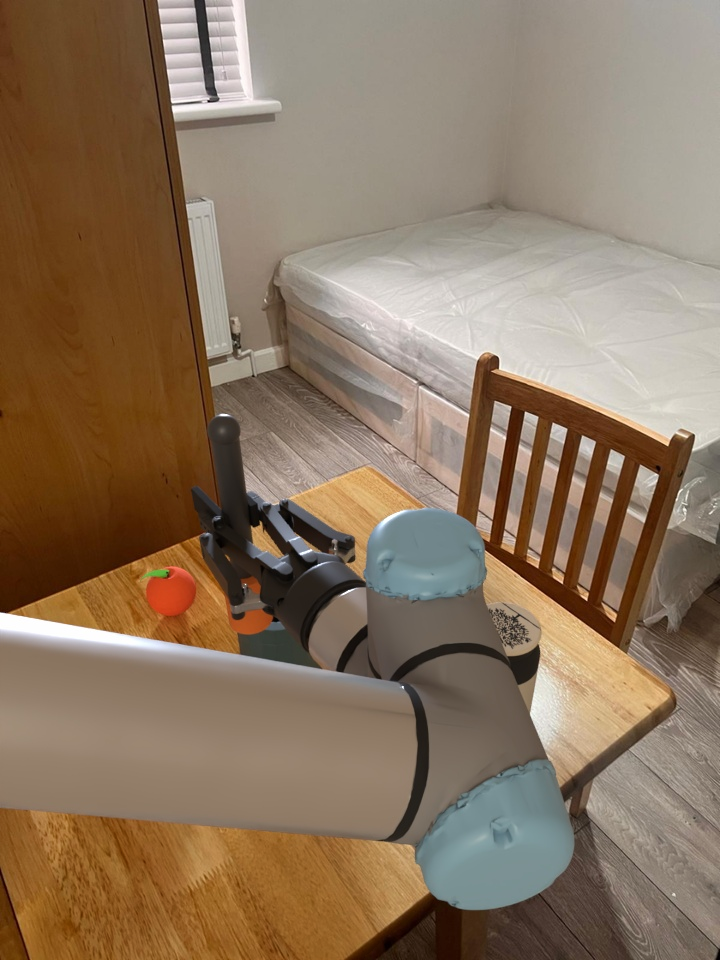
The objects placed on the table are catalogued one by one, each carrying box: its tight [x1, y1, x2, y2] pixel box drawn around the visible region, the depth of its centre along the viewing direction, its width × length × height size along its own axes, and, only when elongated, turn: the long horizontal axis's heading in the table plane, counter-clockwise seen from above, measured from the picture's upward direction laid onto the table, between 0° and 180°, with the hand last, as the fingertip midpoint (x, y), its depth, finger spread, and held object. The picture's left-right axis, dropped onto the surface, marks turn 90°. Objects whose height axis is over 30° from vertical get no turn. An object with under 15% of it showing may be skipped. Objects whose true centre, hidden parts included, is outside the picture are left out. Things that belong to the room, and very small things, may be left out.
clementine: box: [139, 566, 197, 617], centre depth 103 cm, size 8×7×7 cm
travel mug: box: [486, 601, 543, 714], centre depth 82 cm, size 8×8×18 cm
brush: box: [206, 413, 273, 635], centre depth 73 cm, size 5×5×26 cm
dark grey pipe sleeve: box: [236, 616, 322, 669], centre depth 94 cm, size 11×11×11 cm
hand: (210, 492), depth 76 cm, fingers closed on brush, 3 cm apart
